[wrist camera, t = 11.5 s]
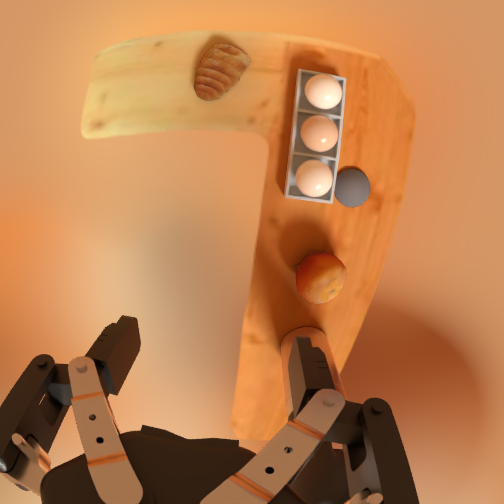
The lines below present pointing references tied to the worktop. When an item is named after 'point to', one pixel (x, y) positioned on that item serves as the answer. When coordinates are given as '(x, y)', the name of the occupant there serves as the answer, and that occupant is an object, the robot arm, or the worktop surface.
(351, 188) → the mat
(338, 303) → the worktop surface
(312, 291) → the fruit
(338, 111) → the carton
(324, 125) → the pale pink ball
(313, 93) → the egg
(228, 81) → the pastry
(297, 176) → the egg
